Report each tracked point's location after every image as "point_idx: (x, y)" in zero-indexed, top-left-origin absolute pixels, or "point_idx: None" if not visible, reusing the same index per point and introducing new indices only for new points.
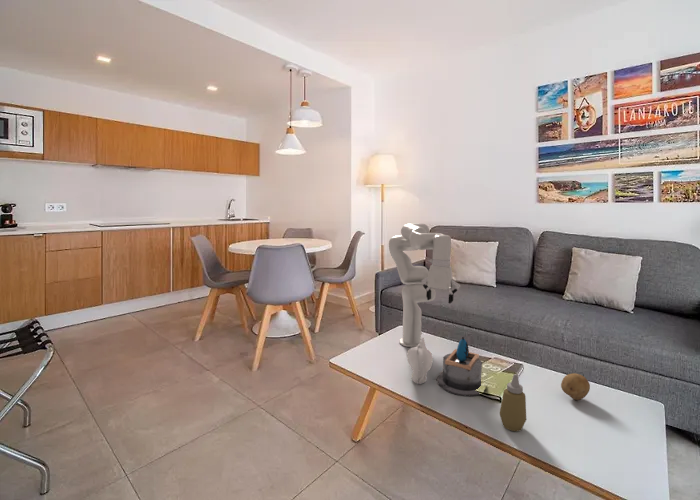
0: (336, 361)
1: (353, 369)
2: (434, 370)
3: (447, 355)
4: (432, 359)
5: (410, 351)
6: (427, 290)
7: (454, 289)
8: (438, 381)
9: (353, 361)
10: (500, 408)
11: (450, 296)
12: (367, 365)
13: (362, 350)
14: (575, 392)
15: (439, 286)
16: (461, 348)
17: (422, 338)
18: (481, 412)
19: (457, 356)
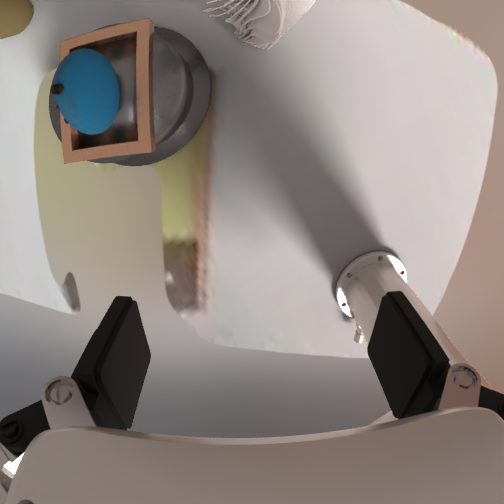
0: (491, 68)
1: (445, 35)
2: (241, 130)
3: (170, 99)
4: (205, 10)
5: None
6: (452, 376)
7: (18, 441)
8: (195, 48)
9: (466, 81)
10: (19, 2)
11: (87, 358)
12: (431, 68)
13: (474, 161)
14: None
15: (246, 500)
16: (72, 52)
17: (277, 19)
18: (69, 11)
19: (106, 58)
